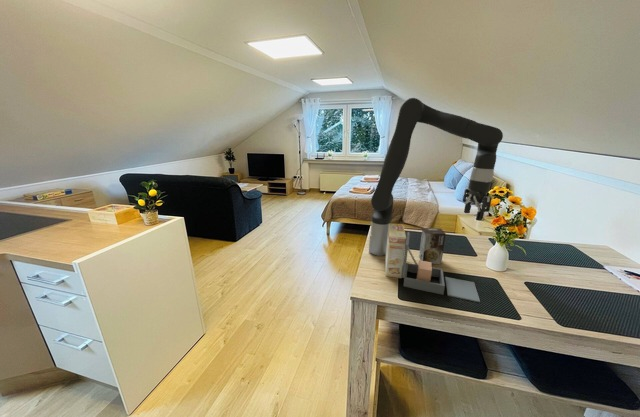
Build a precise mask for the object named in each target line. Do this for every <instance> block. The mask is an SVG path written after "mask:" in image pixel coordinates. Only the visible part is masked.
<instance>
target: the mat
mask: <svg viewBox="0 0 640 417" xmlns="http://www.w3.org/2000/svg"><path fill="white" fill-rule="evenodd" d="M444 282H445V288H446V294H447V297H452V298H458V299H461V300H467V301H471V302H476V303H481V301H480V300H481V299H480V296H479V292H478V290H477V288H476V284H475V282H474V281H469V280H464V279H460V278H453V277H448V276H445V277H444Z"/></svg>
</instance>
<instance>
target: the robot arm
mask: <svg viewBox="0 0 640 417" xmlns="http://www.w3.org/2000/svg"><path fill="white" fill-rule="evenodd" d="M418 123H421V124H426V125H429V126H433V127H435V128H438V129H440V130H441V131H444V132H446V133H448V134H451V135H453V136H457V137H458V138H459V137H460V138H463V139H467V140H470V141H473V142H475V143H476V144H477V149H476V155H475V159H474V164H473V167H472V169H471V174H470V178H469V182H468V188H465V190H464V194H463V197H462V203H464V210H463V213H464V214H470V212H471V208H472V204H475V207H477V213H476V217H475V220H476V221H483V219H484V215H485V213H489V212H490V210H491V204H492V199H493V198H492V196H487V193H488V192H490V190H491V186H492V182H493V178H494V171H495V166H496V163H497V150H498V147H499V144H500V143H501V142H502V140H503V139H504V134H503V131H502V130H501V129H500V128H498V127H496V126H493V125H488V124H484V123H482V122H477V121H475V120H474V119H470V118H468V117H465V116H461V115H459V114H458V115H457V114H453V113H448V112H444V111H441V110H438V109H435V108H433V107H432V106H429V105H427V104H425V103H423V102H422V101H421V100H420V99H419V98H415V97H410V98H407V99H405V100H404V101H403V103H402V104H401V106H400V108H399V112H398V115H397V122H396V125H395V126H396V127H395V130H394V132H393V135H392V137H391V140H390V144H389V146H388V147H387V148H388V149H387V152H386V154H385V158H384V161H383V165H382V168H381V171H380V176H379V179H378V183H377V185H376V188H375V190H374V192H373V195H372V196H371V199H370V202H371V203H370V204H371V207H372V208H373V212H372V215H371V227H370V235H369V240H368V241H369V243H368V253H370V254H372V255H374V256H378V257H379V256H380V257H381V256H386V248H387V237H388V226H389V224H391V219H392V215H393V208H394V195H393V190H394V187H395V184H396V183H397V181H398V179H399V177H400V176H401V174H402V172H403V170H404V168H405V165H406V162H407V159H408V156H409V151H410V149H411V148H410V147H411V140H412V136H413V132H414V130H415V128H416V125H417V124H418Z"/></svg>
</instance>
